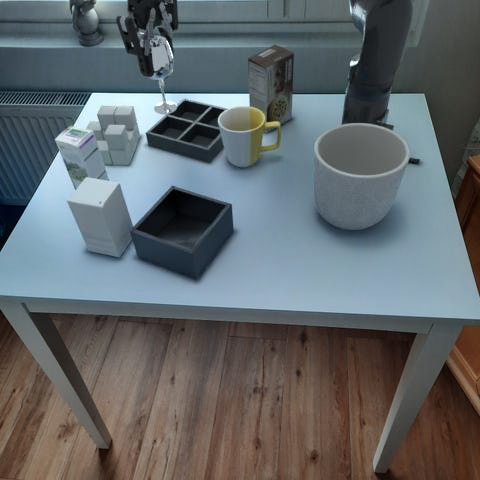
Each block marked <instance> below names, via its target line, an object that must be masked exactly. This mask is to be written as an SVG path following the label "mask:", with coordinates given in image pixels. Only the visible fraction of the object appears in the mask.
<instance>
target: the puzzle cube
mask: <svg viewBox="0 0 480 480" xmlns="http://www.w3.org/2000/svg"><path fill="white" fill-rule="evenodd" d="M96 117H97V120H98V121H89V122H88V124H87V126H86V128H85V129H88V130H92V131H93V132H94V135H95V138H96V140H97V144H98V147H99V150H100V153H101V156H102V159H103V162H104V165H105V166H106V165H109V166H112V165H114V166H130V165H131V161H132V159H133V156H134V153H135V152H136V148H137V145H138V144H139V140H140V139H141V133H140V128H139V124H138V119H137V115H136V112H135V107H134V106H133V105H100V108H99V109H98V111H97V113H96Z"/></svg>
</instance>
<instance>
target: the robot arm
mask: <svg viewBox="0 0 480 480" xmlns="http://www.w3.org/2000/svg"><path fill="white" fill-rule="evenodd" d="M126 1H127V7H126V8H127V9H126V10H127V11H126V13H125V14H123V16H122V15H117V16H116V19H115V22H116V24H117V25H116V26H117V28H118V31H119V34H120V37H121V40H122V42H123V43H122V44H123V45H124V48H125V51H126V54H128V55H132V56H136V57H137V58H136V59H137V63H138V68H139V71H140V73H141V75H142V76H144V77H147V78H149V77H152V76H153V75H154V71H153V66H152V60H151V55H150V54H149V51H150V41H151V40H152V38H153V36H154V30H156V33H157V34H158V36H163V37H165V38H166V39H167V41H168V44H169V46H170V49H171V52H172V56H173V61H174V60H175V52H174V44H173V38H174V31H178V29H179V12H178V11H179V9H178V0H126ZM414 11H415V7H414V1H413V0H349V13H350V18H351V21H352V24H353V25H354V27H355V28H356V29H357V31H358V32H359V33H360V34H361V35H363V38H362V45H361V49H360V53H358V54H356V55H354V56H353V57H352V58H351V59H350V62H349V65H348V72H347V78H346V79H347V80H346V87H345V94H344V102H343V108H342V115H341V121H340V122H341V123H340V125H343V124H350V123H367V124H374V125H378V126H382V127H385V128H387V129H390V130H392V131H394V127H395V125H394V124H389V123H387V121H388V117H389V112H390V108H388V107H389V104H390V103H389V102H390V97H391V93H392V88H393V85H394V84H393V83H394V79H395V75H396V72H397V70H398V68H399V67H400V64H401V63H402V61H403V58H404V55H405V52H406V47H407V44H408V40H409V36H410V32H411V29H412V24H413V19H414ZM170 15H171V19H170ZM140 30H141V31H145V33H144V32H141V31H140ZM142 40H143V47H142V46H141V45H140V42H141V41H142ZM420 162H421V158H412V157H410V158H409V161H408V163H413V164H419V163H420Z"/></svg>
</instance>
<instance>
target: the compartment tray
mask: <svg viewBox="0 0 480 480" xmlns="http://www.w3.org/2000/svg"><path fill="white" fill-rule="evenodd" d="M176 105H177V109H176V110H175V111H174V112H172V113H169V114H164V116H162V117H161V119H159V120H158V121H157V122H156V123H155V124H153V126H151V127H150V128H149V129H148V130H147V131H146V132H145V136H146V142H147V145H148V146H149V147H153V148H155V149H159V150H162V151H166V152H170V153H174V154H177V155H180V156H183V157H187V158H190V159H195V160H197V161H201V162H205V163H209V164H210V163H211V162H212V161H213V160H214V159H215V158H216V157H217V156H218V155H219V153H221V151H222V150H223V149H224V145H223V141H222V137H221V133H220V129H219V124H218V117H219V116H220V114H221V113H222V112H224V111H225V110H227V109H228V108H226V107H222V106H218V105H213V104H209V103H205V102H202V101H197V100H193V99H189V98H185V97H184V98H182V99H181V100H180V101H179V102H178V103H176Z"/></svg>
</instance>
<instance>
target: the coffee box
mask: <svg viewBox="0 0 480 480" xmlns="http://www.w3.org/2000/svg"><path fill="white" fill-rule="evenodd" d="M294 60H295V52H293V51H290V50H289V49H287V48H285V47H283V46H281V45H278V44H272V45H271V46H269V47H266V48H265V49H263V50H260V51H258V52H257V53H255V54H253V55H251V56H249V57H247V68H248V69H247V71H248V96H249V97H248V99H249V103H248V105H249V107H254V108H256V109H258V110H260V111H261V112H262V113H263V114H264V115H265V123H267V122H275V121H277V122H279V123H280V125H283V124H284V123H286V122H288V121H289V120H291V119H292V116H293V93H294V92H293V91H294V89H293V88H294V62H295V61H294ZM275 129H277V127H272V128H268V129H266V130H265V131H264V133H269V132H271V131H272V130H275Z"/></svg>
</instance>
